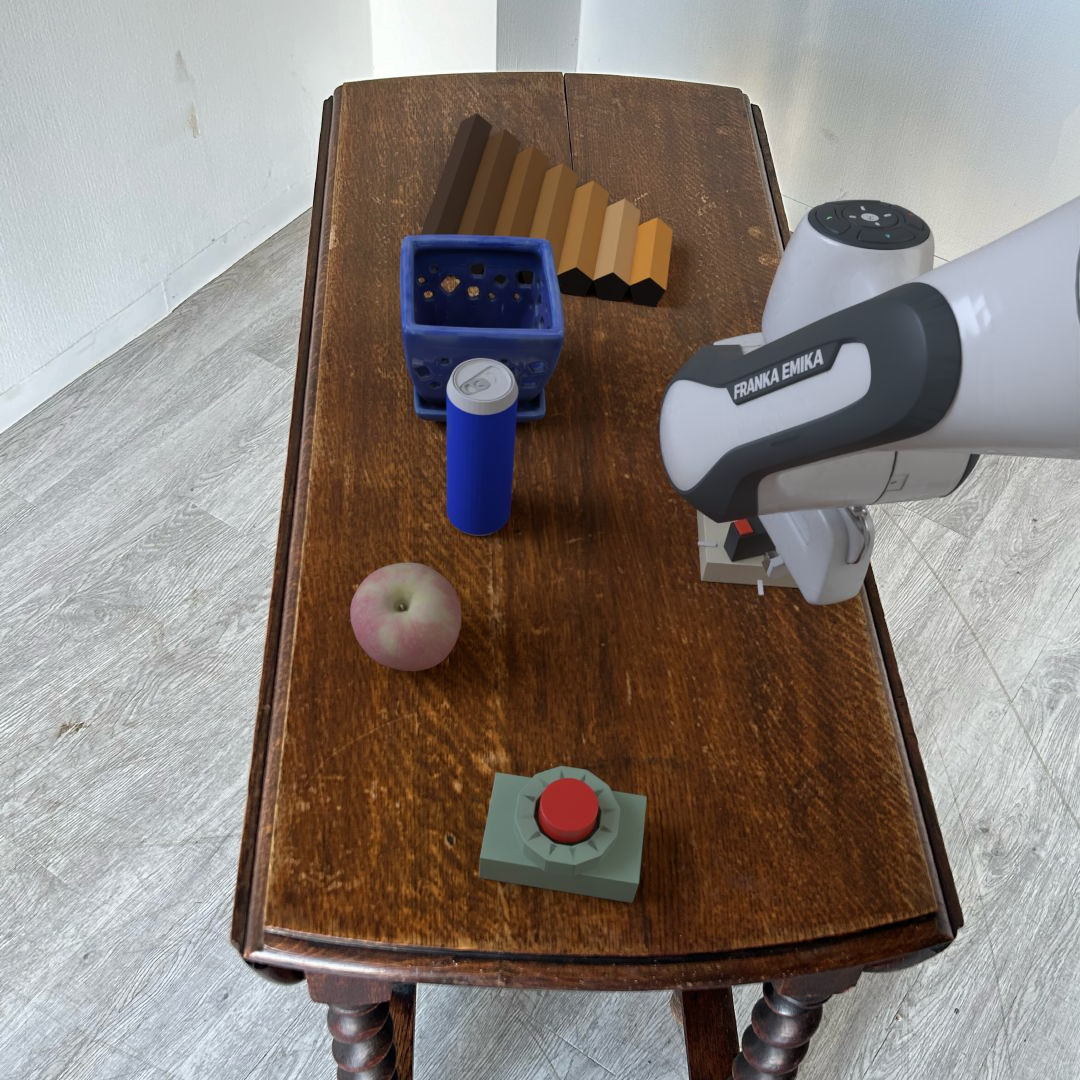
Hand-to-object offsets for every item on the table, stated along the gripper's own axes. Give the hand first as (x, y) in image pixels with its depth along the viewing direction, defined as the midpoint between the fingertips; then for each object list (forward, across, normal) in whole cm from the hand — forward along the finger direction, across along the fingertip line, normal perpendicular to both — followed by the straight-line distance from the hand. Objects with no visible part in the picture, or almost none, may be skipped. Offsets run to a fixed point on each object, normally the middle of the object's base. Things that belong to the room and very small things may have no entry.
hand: (758, 542), depth 87 cm
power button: (-1, -18, +22) cm, 29 cm away
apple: (+4, 0, +28) cm, 28 cm away
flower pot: (+4, +26, +16) cm, 30 cm away
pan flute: (+3, +49, +1) cm, 49 cm away
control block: (+3, -18, +22) cm, 29 cm away
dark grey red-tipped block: (+1, 0, 0) cm, 1 cm away
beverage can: (+4, +11, +20) cm, 23 cm away
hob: (+3, +6, -2) cm, 7 cm away
